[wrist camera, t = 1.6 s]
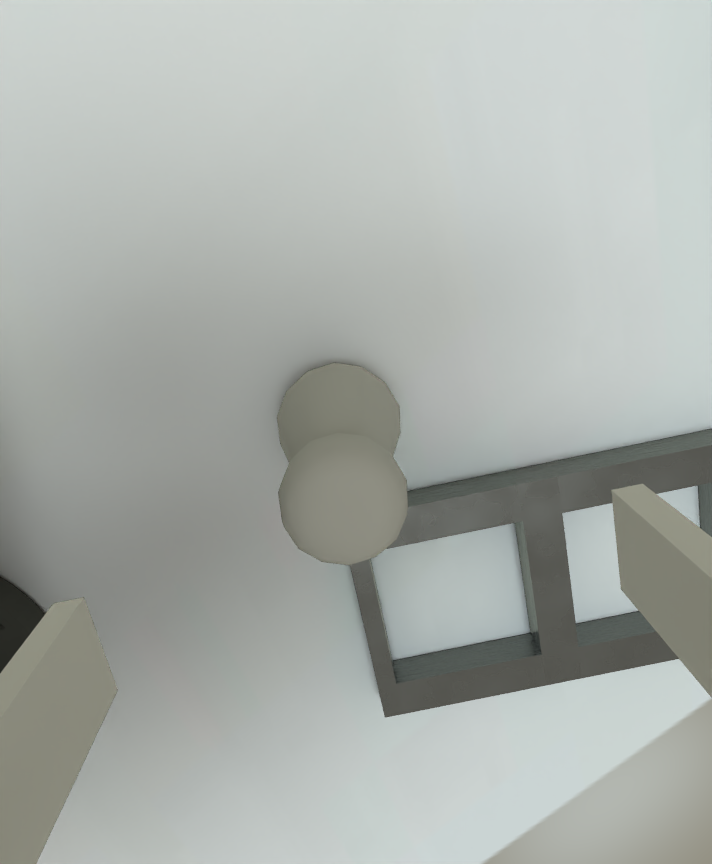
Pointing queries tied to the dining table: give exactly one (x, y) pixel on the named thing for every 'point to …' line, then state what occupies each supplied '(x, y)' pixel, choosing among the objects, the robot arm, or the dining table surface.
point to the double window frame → (532, 574)
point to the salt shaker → (341, 465)
